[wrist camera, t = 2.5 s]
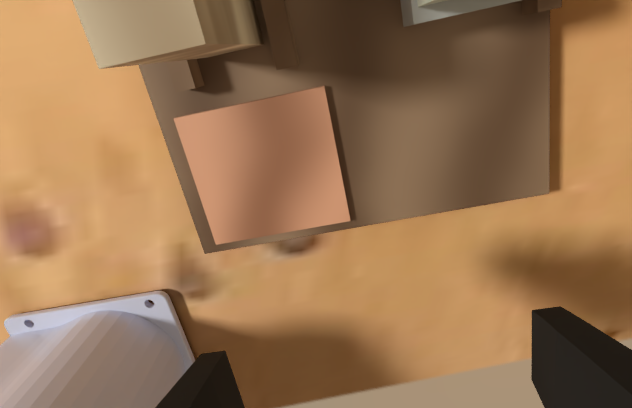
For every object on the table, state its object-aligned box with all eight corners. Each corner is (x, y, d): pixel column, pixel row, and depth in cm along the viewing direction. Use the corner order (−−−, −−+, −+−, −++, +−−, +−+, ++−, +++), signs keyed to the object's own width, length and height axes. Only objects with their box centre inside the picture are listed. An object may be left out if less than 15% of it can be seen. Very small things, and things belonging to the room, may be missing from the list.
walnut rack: (210, 244, 20) (197, 266, 18) (78, -142, 14) (37, -173, 12) (538, 185, 19) (564, 203, 16) (534, -277, 13) (573, -337, 11)
